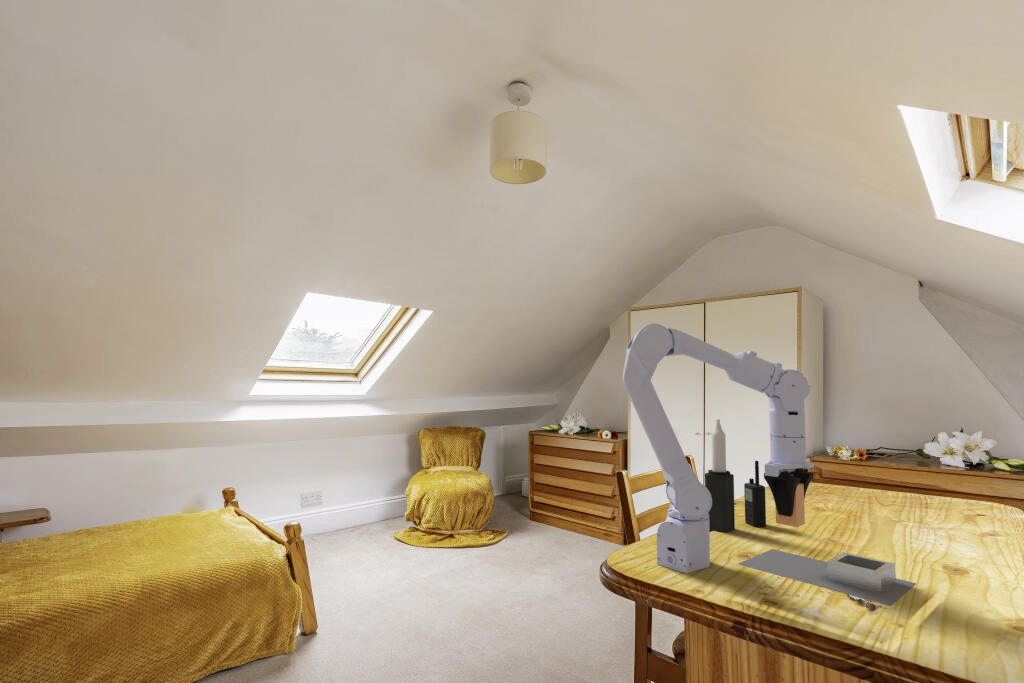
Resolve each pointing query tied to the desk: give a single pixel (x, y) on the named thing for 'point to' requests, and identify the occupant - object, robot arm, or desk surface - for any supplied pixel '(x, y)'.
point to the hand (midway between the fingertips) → (789, 513)
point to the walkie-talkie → (755, 501)
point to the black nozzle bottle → (720, 486)
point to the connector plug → (794, 509)
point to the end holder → (861, 572)
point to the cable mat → (819, 575)
